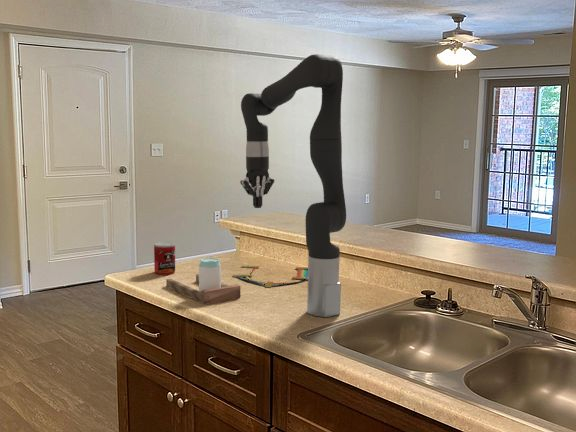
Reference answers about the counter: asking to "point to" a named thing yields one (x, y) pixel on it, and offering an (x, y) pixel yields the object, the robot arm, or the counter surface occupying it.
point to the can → (209, 274)
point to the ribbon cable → (301, 274)
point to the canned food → (164, 258)
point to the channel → (206, 292)
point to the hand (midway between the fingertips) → (257, 207)
